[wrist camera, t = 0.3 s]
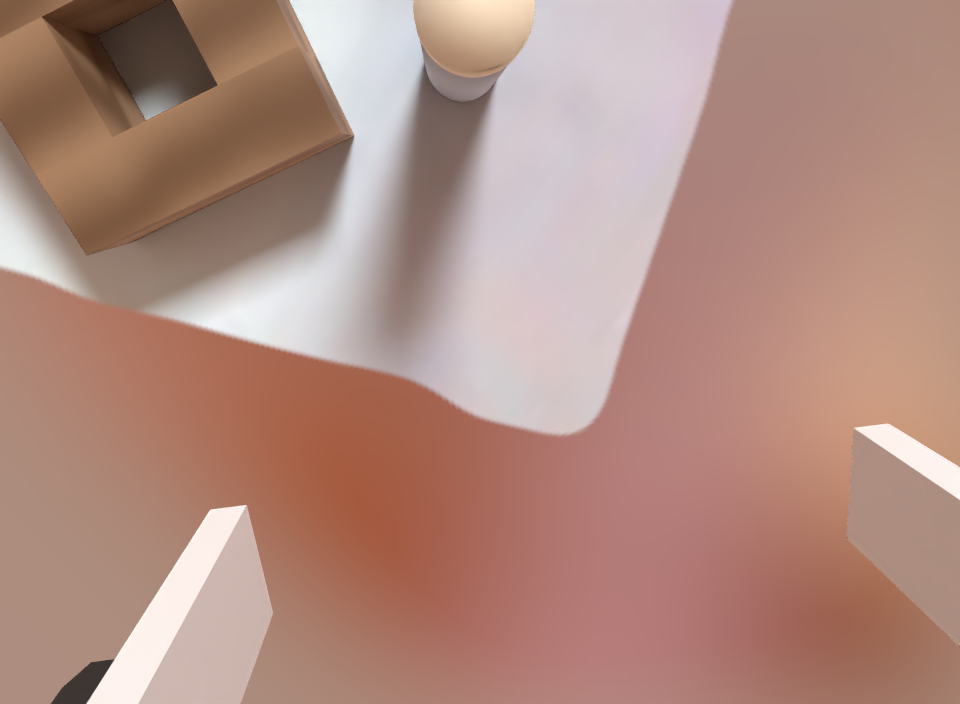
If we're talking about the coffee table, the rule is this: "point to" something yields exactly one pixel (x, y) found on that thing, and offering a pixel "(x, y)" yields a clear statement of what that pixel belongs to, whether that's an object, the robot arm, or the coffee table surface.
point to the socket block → (170, 135)
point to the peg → (470, 42)
